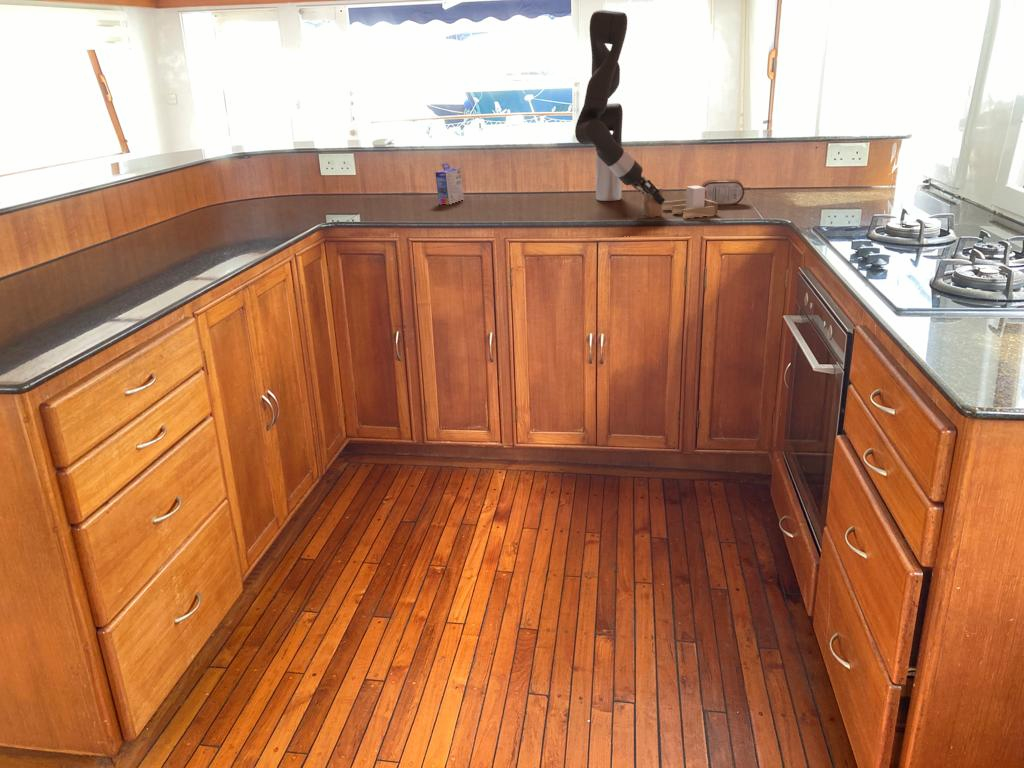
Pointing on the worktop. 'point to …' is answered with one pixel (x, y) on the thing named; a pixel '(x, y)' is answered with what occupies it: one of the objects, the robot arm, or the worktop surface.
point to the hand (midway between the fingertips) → (657, 200)
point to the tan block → (652, 205)
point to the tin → (724, 191)
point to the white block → (695, 197)
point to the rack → (680, 207)
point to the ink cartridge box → (449, 185)
